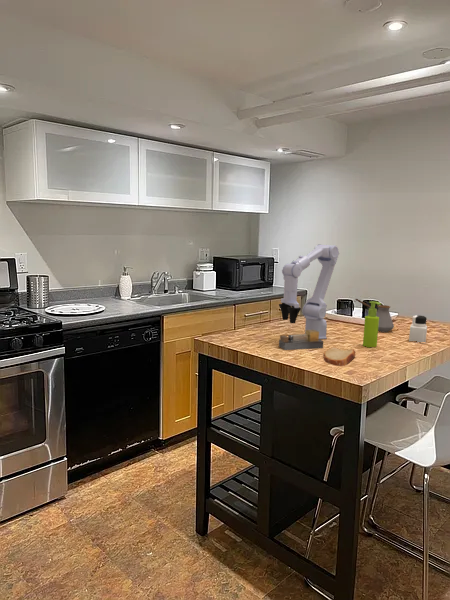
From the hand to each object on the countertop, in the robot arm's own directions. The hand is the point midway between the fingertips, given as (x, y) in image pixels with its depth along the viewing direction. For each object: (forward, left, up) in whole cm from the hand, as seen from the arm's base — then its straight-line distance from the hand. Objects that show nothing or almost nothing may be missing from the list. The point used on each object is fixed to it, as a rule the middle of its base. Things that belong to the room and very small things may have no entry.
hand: (288, 321), depth 208 cm
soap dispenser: (-34, +13, -10) cm, 38 cm away
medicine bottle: (-63, +8, -10) cm, 64 cm away
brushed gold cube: (-7, +9, -7) cm, 13 cm away
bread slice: (-10, +28, -10) cm, 32 cm away
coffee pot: (-57, -19, -10) cm, 61 cm away
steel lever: (0, +9, -6) cm, 11 cm away
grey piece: (-2, +9, -10) cm, 13 cm away
